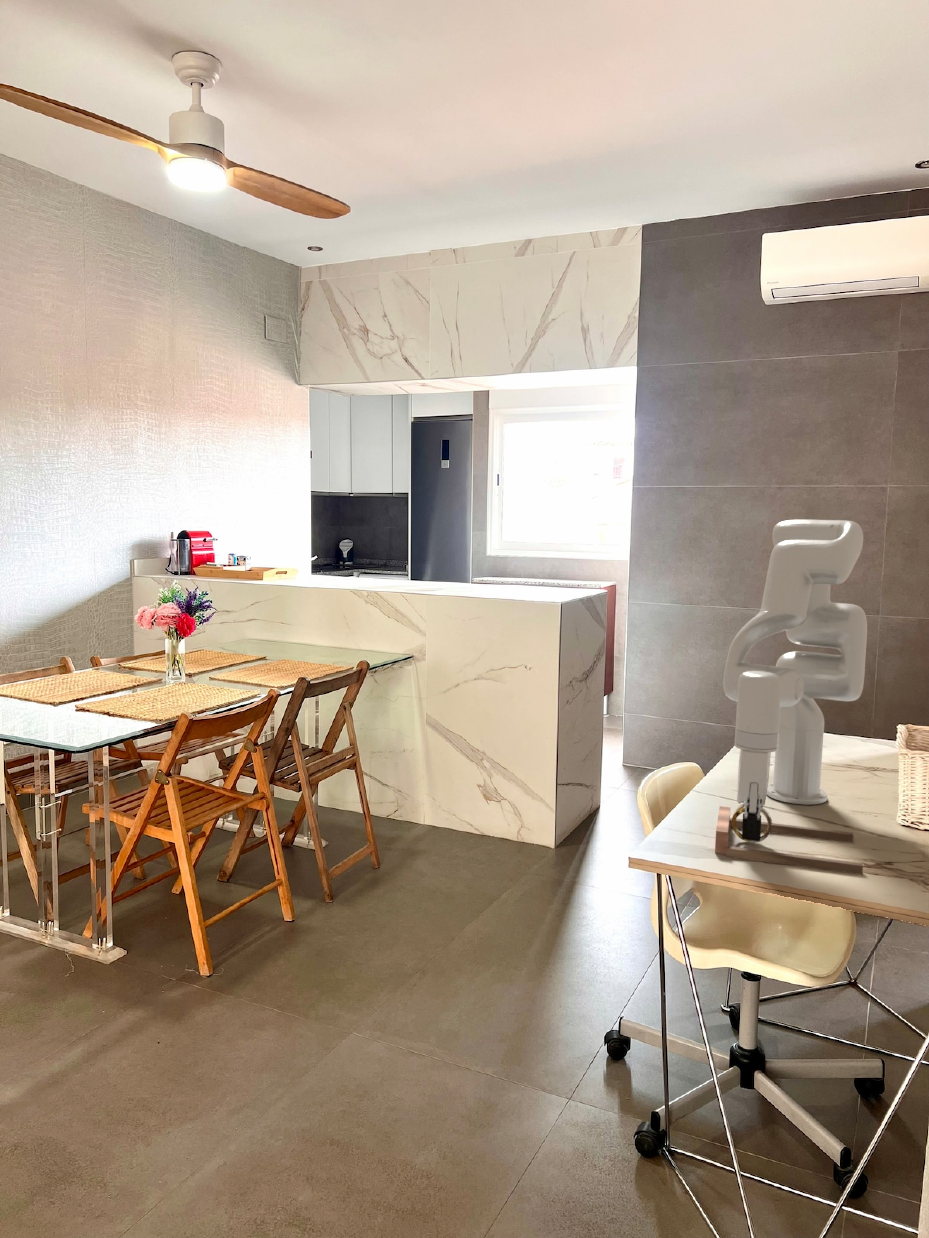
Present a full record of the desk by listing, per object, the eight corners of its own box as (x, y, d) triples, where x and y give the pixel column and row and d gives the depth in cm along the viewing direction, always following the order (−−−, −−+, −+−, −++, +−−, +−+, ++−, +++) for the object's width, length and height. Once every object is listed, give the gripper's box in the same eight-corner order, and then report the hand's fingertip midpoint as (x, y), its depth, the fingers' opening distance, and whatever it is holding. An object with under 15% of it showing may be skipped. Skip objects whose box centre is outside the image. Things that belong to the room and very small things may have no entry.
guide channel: (718, 824, 173) (719, 804, 173) (852, 840, 166) (853, 819, 166) (714, 854, 157) (715, 832, 157) (862, 874, 150) (864, 851, 149)
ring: (771, 843, 163) (774, 801, 162) (769, 849, 160) (772, 806, 160) (732, 836, 166) (734, 795, 165) (729, 842, 163) (732, 800, 162)
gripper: (736, 728, 170) (730, 821, 172) (733, 747, 155) (728, 849, 157) (777, 732, 167) (771, 826, 169) (779, 751, 153) (773, 855, 155)
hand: (750, 836), depth 163 cm, fingers closed on ring, 1 cm apart
